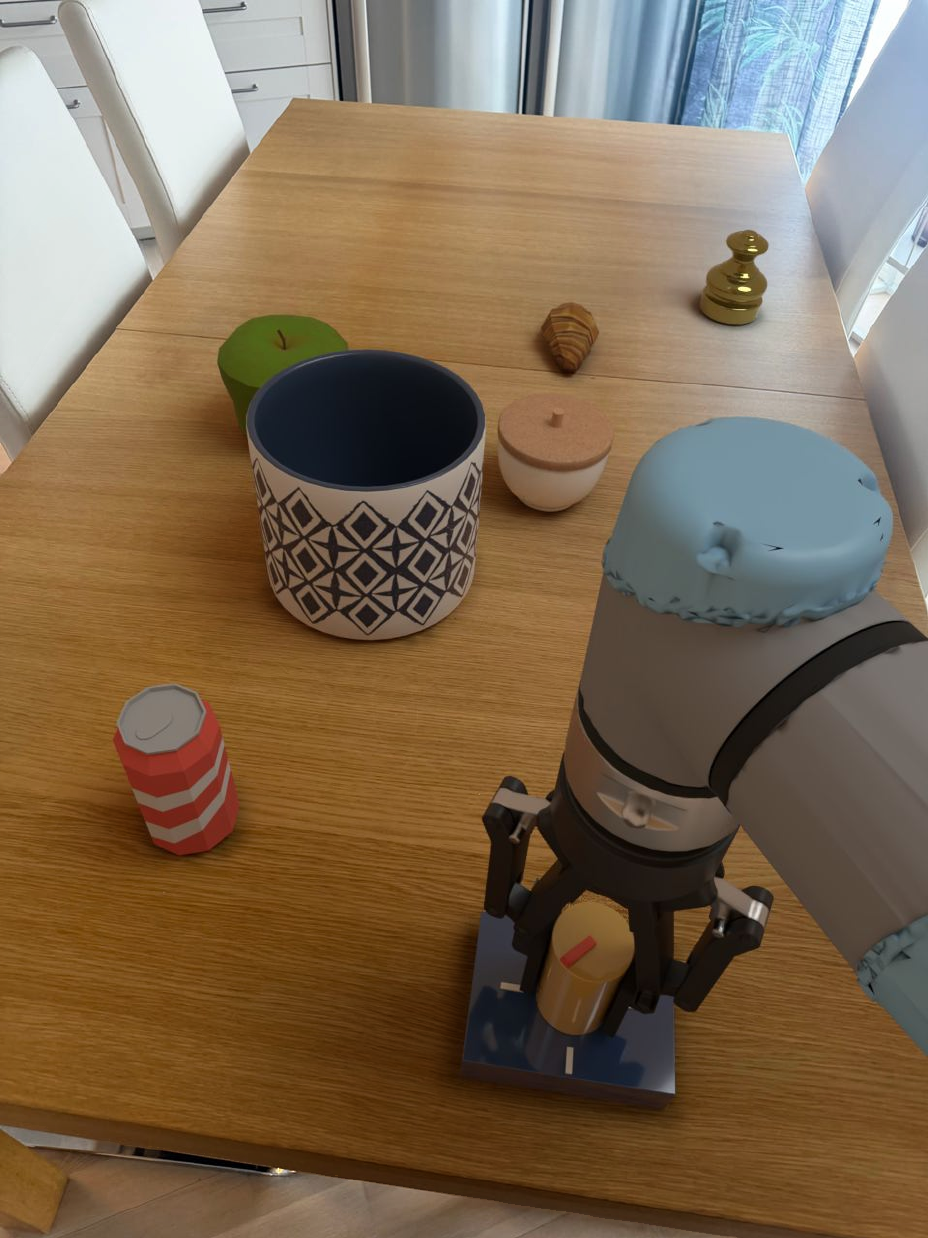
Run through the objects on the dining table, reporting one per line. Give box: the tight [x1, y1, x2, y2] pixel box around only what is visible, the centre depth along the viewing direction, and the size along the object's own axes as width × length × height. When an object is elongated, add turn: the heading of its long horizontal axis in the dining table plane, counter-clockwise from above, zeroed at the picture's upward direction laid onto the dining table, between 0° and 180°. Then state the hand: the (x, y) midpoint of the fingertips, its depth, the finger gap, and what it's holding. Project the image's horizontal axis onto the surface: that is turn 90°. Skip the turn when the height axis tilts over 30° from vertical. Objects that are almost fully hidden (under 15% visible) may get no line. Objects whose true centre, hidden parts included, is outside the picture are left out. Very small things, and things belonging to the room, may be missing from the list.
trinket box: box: [496, 392, 615, 513], centre depth 87 cm, size 11×11×9 cm
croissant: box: [540, 301, 600, 375], centre depth 107 cm, size 14×7×5 cm, turn 175°
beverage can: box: [112, 682, 241, 856], centre depth 60 cm, size 6×6×12 cm
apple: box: [216, 314, 350, 437], centre depth 91 cm, size 12×12×11 cm
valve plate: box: [459, 910, 676, 1111], centre depth 56 cm, size 12×9×3 cm
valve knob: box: [536, 901, 635, 1035], centre depth 52 cm, size 4×4×8 cm
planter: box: [246, 349, 487, 641], centre depth 76 cm, size 18×18×16 cm
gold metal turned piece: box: [699, 229, 770, 326], centre depth 112 cm, size 7×7×10 cm
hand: (574, 992), depth 54 cm, fingers closed on valve knob, 4 cm apart
